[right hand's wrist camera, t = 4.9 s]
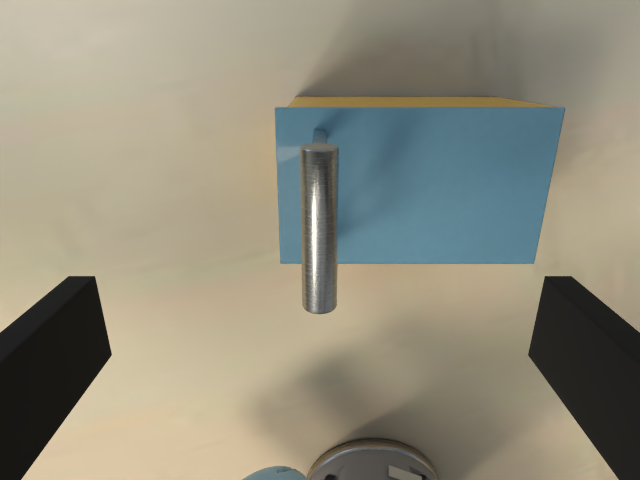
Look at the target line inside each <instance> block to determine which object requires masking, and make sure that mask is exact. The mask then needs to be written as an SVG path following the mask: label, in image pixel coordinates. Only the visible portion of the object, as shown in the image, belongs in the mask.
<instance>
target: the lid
mask: <svg viewBox="0 0 640 480" xmlns="http://www.w3.org/2000/svg"><path fill="white" fill-rule="evenodd" d="M564 111H565V108H562V107H276V108H275V128H276V155H277V182H278V209H279V236H280V263H281V264H302V304H303V307H304V309H305V310H306V311H308V312H310V313H314V314H325V313H329V312H331V311H333V310H334V309H335V308H336V305H337V264H534V261H535V256H536V251H537V246H538V241H539V236H540V231H541V226H542V221H543V216H544V211H545V206H546V201H547V196H548V191H549V186H550V181H551V176H552V171H553V166H554V161H555V156H556V151H557V146H558V141H559V136H560V131H561V126H562V121H563V116H564Z"/></svg>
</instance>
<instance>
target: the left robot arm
mask: <svg viewBox="0 0 640 480" xmlns="http://www.w3.org/2000/svg"><path fill="white" fill-rule="evenodd" d="M242 480H438V479H437V475H436V472H435V470H434V468H433V466H432V465H431V463H430V462H429V461H428V459H427V458H426V457H425V456H423V455H422V454H421V453H420V452H418V451H417V450H415V449H413V448H412V447H409V446H407V445H405V444H402V443H399V442H395V441H391V440H384V439H365V440H358V441H353V442H349V443H346V444H343V445H340V446H338V447H336V448H334V449H332V450H330V451H329V452H327V453H326V454H324V455H323V456H322V457H320V458H319V459H318V460H317V461H316V462H315V464H314V465H313V466H312V468H311V469H310V471H309V473H308V475H307V477H306V476H304V475H303V474H302V473H301V472H299V471H297V470H295V469H292V468H290V467H285V466H274V467H269V468H265V469H262V470H259V471H257V472H255V473H253V474H251V475H249V476H247V477H246V478H244V479H242Z"/></svg>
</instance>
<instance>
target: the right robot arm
mask: <svg viewBox="0 0 640 480" xmlns="http://www.w3.org/2000/svg"><path fill="white" fill-rule="evenodd" d="M111 355H112V354H111V349H110V344H109V340H108V335H107V330H106V326H105V321H104V316H103V312H102V307H101V302H100V298H99V293H98V288H97V284H96V279H95V276H69V277H67V278H66V279H65V280H64V281H62V282H61V283H60V284H59V285H58V286H56V287H55V288H54V289H53V290H52V291H50V292H49V293H48V294H47V295H46V296H44V297H43V298H42V299H41V300H39V301H38V302H37V303H36V304H35V305H33V306H32V307H31V308H30V309H29V310H27V311H26V312H25V313H24V314H22V315H21V316H20V317H19V318H18V319H16V320H15V321H14V322H13V323H12V324H10V325H9V326H8V327H7V328H6V329H4V330H3V331H2V332H1V333H0V480H21V479H22V478H23V476H24V475H25V473H26V472H27V471H28V469H29V468H30V467H31V465H32V464H33V462H34V461H35V460H36V458H37V457H38V456H39V454H40V453H41V452H42V450H43V449H44V447H45V446H46V445H47V443H48V442H49V441H50V439H51V438H52V436H53V435H54V434H55V432H56V431H57V430H58V428H59V427H60V425H61V424H62V423H63V421H64V420H65V419H66V417H67V416H68V414H69V413H70V412H71V410H72V409H73V408H74V406H75V405H76V403H77V402H78V401H79V399H80V398H81V397H82V395H83V394H84V392H85V391H86V390H87V388H88V387H89V386H90V384H91V383H92V381H93V380H94V379H95V377H96V376H97V375H98V373H99V372H100V370H101V369H102V368H103V366H104V365H105V364H106V362H107V361H108V359H109V358H110V357H111ZM528 355H529V357H530V358H531V359H532V361H533V362H534V364H535V365H536V366H537V368H538V369H539V370H540V372H541V373H542V375H543V376H544V377H545V379H546V380H547V381H548V383H549V384H550V386H551V387H552V388H553V390H554V391H555V392H556V394H557V395H558V397H559V398H560V399H561V401H562V402H563V403H564V405H565V406H566V408H567V409H568V410H569V412H570V413H571V414H572V416H573V417H574V419H575V420H576V421H577V423H578V424H579V425H580V427H581V428H582V430H583V431H584V432H585V434H586V435H587V436H588V438H589V439H590V441H591V442H592V443H593V445H594V446H595V447H596V449H597V450H598V452H599V453H600V454H601V456H602V457H603V458H604V460H605V461H606V462H607V464H608V465H609V467H610V468H611V469H612V471H613V472H614V473H615V475H616V476H617V478H618V479H619V480H640V333H639V332H638V331H637V330H636V329H634V328H633V327H632V326H631V325H630V324H628V323H627V322H626V321H625V320H624V319H622V318H621V317H620V316H619V315H618V314H616V313H615V312H614V311H613V310H611V309H610V308H609V307H608V306H607V305H605V304H604V303H603V302H602V301H601V300H599V299H598V298H597V297H596V296H594V295H593V294H592V293H591V292H590V291H588V290H587V289H586V288H585V287H584V286H582V285H581V284H580V283H579V282H578V281H576V280H575V279H574V278H573V277H571V276H545V279H544V284H543V288H542V293H541V298H540V302H539V307H538V312H537V316H536V321H535V326H534V330H533V335H532V340H531V344H530V349H529V354H528Z"/></svg>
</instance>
